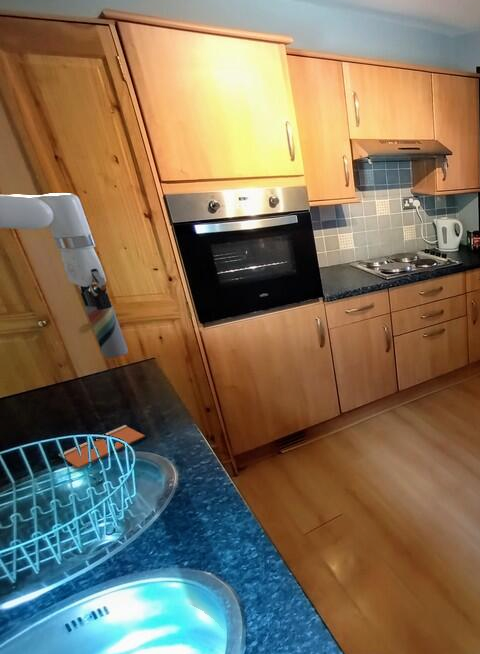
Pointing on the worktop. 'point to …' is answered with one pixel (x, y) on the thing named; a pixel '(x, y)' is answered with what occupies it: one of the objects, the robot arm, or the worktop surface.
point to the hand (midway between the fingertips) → (98, 306)
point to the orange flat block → (101, 446)
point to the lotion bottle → (106, 328)
